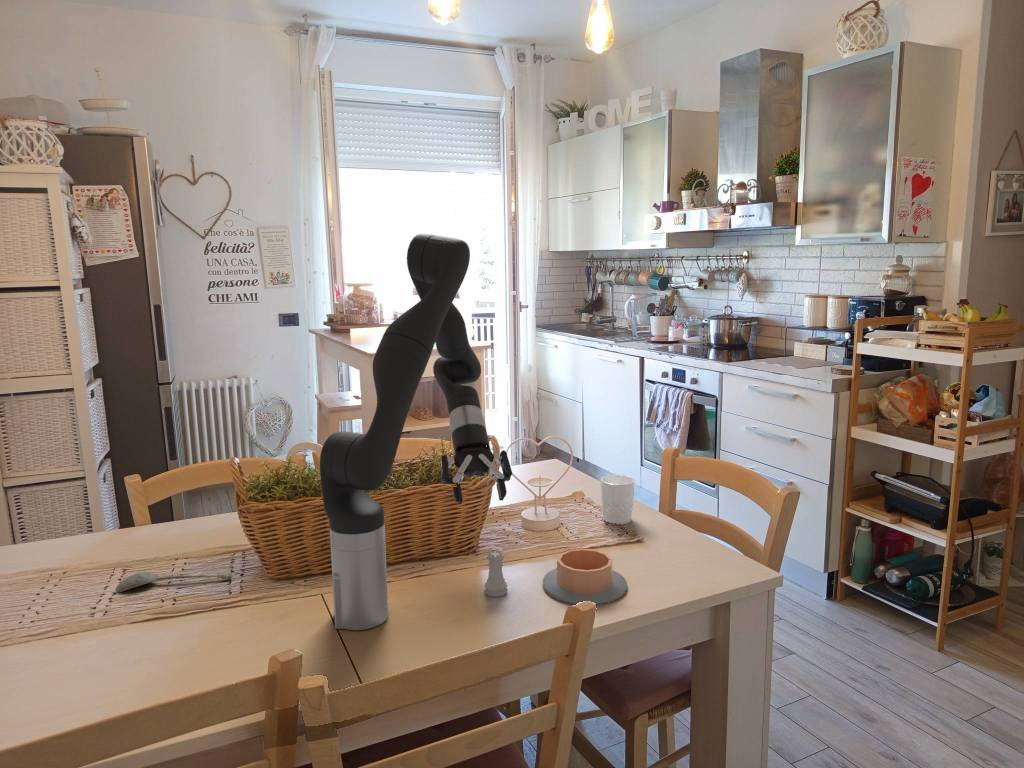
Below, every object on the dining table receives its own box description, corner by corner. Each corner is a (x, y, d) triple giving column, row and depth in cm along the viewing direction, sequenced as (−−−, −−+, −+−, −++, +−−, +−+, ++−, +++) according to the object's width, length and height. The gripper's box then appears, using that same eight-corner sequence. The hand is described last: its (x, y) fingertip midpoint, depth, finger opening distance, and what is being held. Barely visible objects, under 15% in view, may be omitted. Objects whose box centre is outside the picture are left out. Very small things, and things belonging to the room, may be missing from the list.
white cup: (633, 526, 169) (634, 485, 167) (599, 524, 171) (599, 483, 169) (634, 515, 177) (635, 475, 175) (601, 513, 178) (602, 473, 176)
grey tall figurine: (499, 600, 134) (498, 559, 132) (479, 594, 136) (478, 554, 134) (512, 590, 137) (511, 550, 136) (492, 585, 140) (492, 546, 138)
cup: (558, 610, 129) (558, 582, 128) (532, 573, 145) (532, 548, 144) (640, 599, 133) (641, 571, 132) (607, 564, 149) (607, 539, 148)
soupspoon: (123, 584, 144) (110, 601, 138) (120, 569, 143) (107, 585, 137) (238, 573, 147) (229, 589, 140) (235, 558, 146) (227, 574, 139)
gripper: (437, 424, 149) (448, 495, 140) (504, 420, 152) (519, 488, 144) (433, 443, 155) (444, 512, 146) (498, 438, 158) (512, 505, 150)
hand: (481, 500), depth 145 cm, fingers open, 8 cm apart
